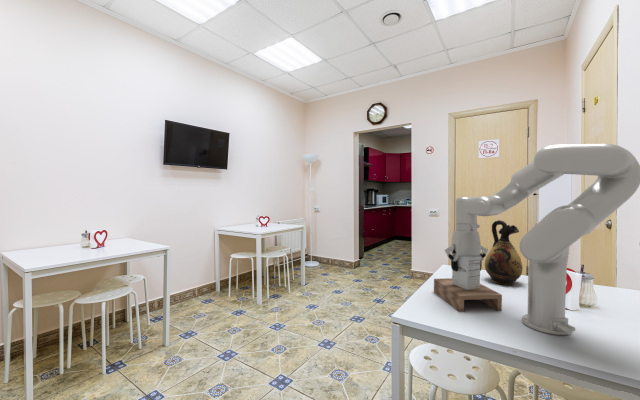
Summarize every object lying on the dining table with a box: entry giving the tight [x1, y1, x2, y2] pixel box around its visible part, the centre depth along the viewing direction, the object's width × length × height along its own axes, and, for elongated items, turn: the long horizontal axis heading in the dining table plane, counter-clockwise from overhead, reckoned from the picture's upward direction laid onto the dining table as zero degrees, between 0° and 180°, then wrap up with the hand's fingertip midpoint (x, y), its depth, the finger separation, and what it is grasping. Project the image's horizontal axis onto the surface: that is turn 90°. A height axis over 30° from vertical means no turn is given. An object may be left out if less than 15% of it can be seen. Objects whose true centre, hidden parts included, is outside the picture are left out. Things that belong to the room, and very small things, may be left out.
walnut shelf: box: [433, 277, 503, 313], centre depth 111 cm, size 20×16×6 cm
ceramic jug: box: [484, 219, 523, 286], centre depth 135 cm, size 17×15×30 cm
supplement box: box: [451, 255, 481, 290], centre depth 111 cm, size 7×7×13 cm
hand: (466, 270), depth 111 cm, fingers open, 9 cm apart
